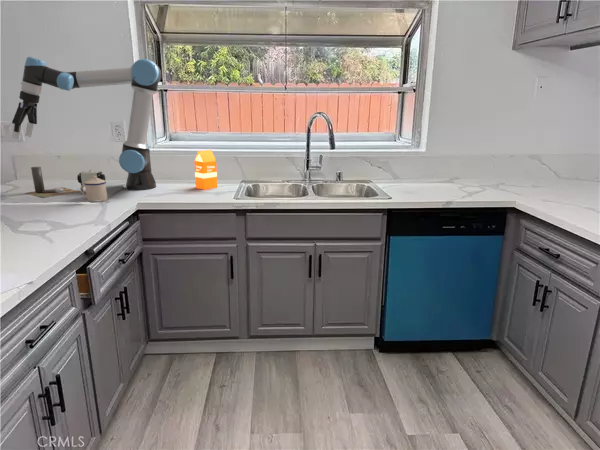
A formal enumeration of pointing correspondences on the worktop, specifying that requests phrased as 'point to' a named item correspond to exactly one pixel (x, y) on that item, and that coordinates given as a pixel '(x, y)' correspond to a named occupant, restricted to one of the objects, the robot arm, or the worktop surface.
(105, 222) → the worktop surface
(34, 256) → the worktop surface
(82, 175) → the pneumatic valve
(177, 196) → the worktop surface
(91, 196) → the teacup with lid
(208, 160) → the orange juice
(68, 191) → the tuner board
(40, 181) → the peg lever
